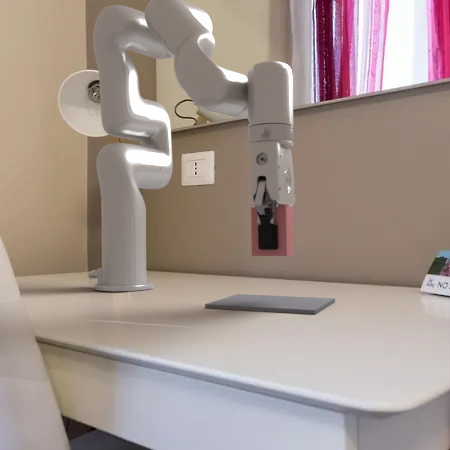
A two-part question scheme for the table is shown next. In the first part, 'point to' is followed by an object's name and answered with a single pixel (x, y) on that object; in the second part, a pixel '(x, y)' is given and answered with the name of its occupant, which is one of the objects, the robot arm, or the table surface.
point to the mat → (272, 303)
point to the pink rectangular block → (284, 233)
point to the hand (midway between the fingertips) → (272, 247)
